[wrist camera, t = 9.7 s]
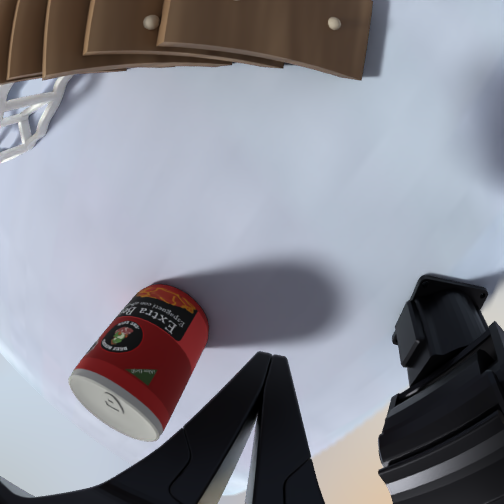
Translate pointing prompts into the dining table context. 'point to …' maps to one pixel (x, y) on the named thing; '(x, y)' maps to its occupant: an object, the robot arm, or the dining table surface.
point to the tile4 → (28, 39)
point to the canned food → (142, 362)
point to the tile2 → (143, 33)
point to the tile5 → (3, 6)
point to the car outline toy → (22, 119)
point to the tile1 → (274, 30)
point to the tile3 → (72, 62)
